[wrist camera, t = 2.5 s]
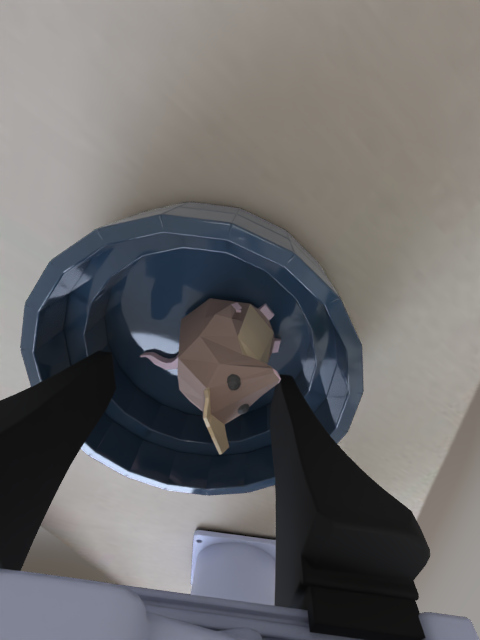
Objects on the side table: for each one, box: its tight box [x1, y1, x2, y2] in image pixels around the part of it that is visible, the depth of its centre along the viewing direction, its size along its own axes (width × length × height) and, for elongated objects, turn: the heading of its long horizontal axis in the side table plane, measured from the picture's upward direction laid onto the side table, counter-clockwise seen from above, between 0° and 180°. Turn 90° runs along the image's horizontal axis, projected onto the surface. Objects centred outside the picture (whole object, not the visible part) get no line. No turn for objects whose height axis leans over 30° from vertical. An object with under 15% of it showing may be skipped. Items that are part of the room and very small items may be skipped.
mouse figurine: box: [140, 298, 281, 455], centre depth 13 cm, size 5×8×7 cm, turn 106°
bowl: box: [20, 202, 363, 495], centre depth 14 cm, size 14×14×4 cm
